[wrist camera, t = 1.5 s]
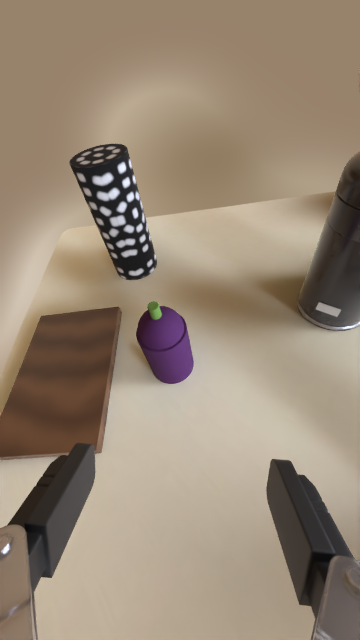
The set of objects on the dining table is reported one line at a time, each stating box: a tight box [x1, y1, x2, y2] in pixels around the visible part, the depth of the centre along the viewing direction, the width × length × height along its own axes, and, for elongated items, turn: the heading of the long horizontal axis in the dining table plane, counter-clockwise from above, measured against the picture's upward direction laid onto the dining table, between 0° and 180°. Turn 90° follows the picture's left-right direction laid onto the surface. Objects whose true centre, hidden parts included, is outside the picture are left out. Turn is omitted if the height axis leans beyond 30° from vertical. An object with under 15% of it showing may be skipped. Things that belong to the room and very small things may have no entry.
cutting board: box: [0, 307, 122, 460], centre depth 36 cm, size 22×14×2 cm, turn 2°
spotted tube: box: [70, 144, 157, 280], centre depth 43 cm, size 8×8×20 cm
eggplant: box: [136, 302, 193, 384], centre depth 31 cm, size 6×6×13 cm
